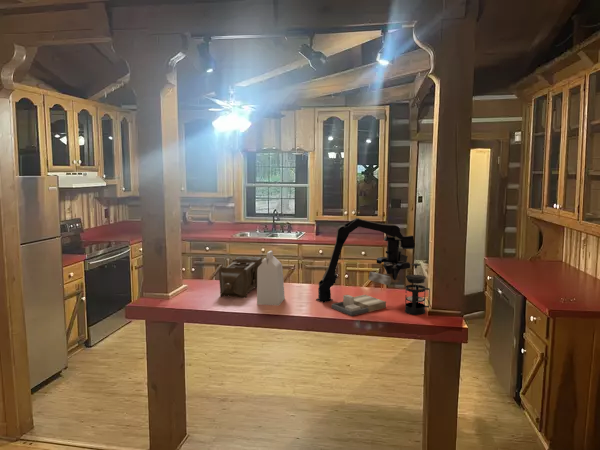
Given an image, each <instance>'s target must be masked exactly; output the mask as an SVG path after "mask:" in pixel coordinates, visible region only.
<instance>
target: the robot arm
mask: <svg viewBox="0 0 600 450" xmlns="http://www.w3.org/2000/svg"><path fill="white" fill-rule="evenodd" d="M357 228H362V229H368V230H373V231H377V232H381V233H384V234H385V235H386V236H385V237H384V238H383V240H384V242H387V243H386V244H387V246H386V247H387V249H386V250H385V254H386V255H387V256H381V257H380V256H379V257H377V258H376V264H379V265H380V264H382V267H383V268H384V270H385V272H386V274H393V279H394V280H396V278H397V275H398V274H399V273H400V271H401V270H407V269H411V263H410V262H408V261H407V260H408V258H409V257H408V255H406V254H402V251H400V248H401V250H414V249H415V246H416V243H415V239H414V235H403V234H402V233H401V230H400V227H399V226H398V225H396V224H394V223H380V222H374V221H370V220H366V219H362V218H358V217H355V218H354V219H352V220H351V221H348V222H347V223H345V224H342V225H341V224H340V225H339V226H337V228H336V237H335V243H334V247H333V249H332V250H333V251H332V254H331V258H330V261H329V263H328V267H327V268H326V270H325V271H324V274H323V276H322V279H321V280H320V281H318V288H317V289H318V298H315V301H318V302H320V303H322V304H323V303H329V302H333V301H334V299H332V298H331V297H332V294H331V288H332V287H333V286H334V284H336V282H337V281H336V280H337V278H338V273H337V272H336V270H337V266H338V262H339V259H340V256H341V252H342V250H343V246H344V244H345V243H346V241H347V239H348V237H349V235H350V233H353V231H355V230H356V229H357Z"/></svg>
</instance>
